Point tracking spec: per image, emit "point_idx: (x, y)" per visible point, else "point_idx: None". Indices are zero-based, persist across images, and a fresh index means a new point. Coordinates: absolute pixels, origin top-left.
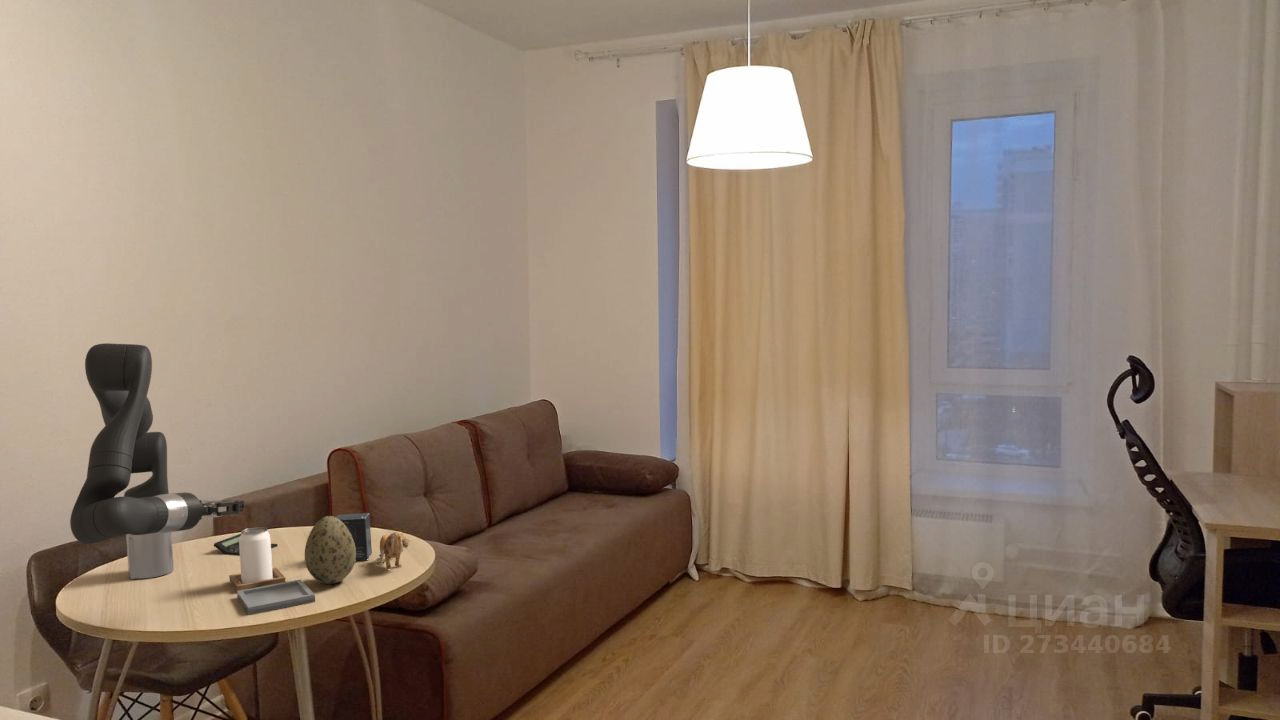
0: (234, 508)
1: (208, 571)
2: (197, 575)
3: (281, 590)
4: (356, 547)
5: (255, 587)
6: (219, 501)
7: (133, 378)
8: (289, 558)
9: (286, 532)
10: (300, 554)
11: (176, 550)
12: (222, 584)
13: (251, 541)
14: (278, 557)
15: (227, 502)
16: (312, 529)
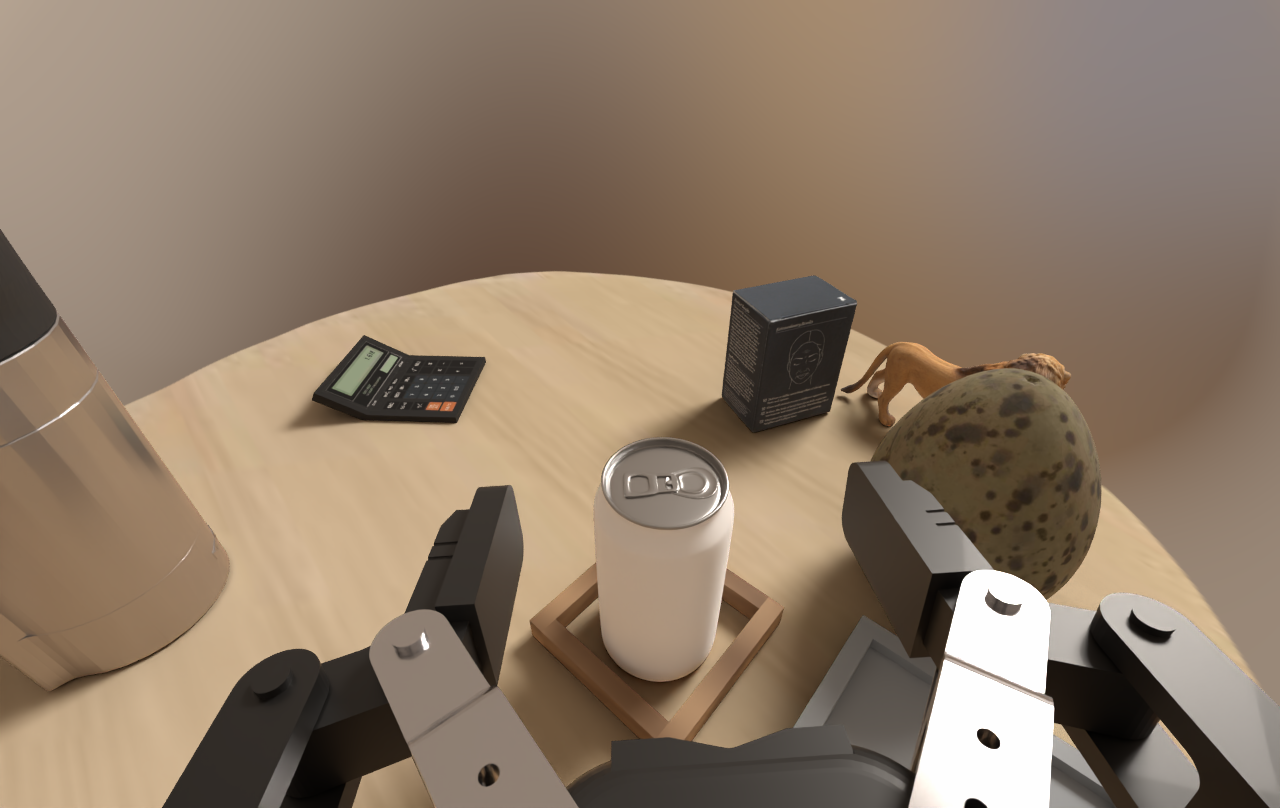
0: (1146, 716)
1: (378, 548)
2: (353, 591)
3: (883, 730)
4: (814, 386)
5: (718, 702)
6: (1051, 740)
7: None
8: (587, 423)
9: (452, 302)
10: (596, 398)
11: (181, 413)
12: (520, 668)
13: (699, 555)
14: (547, 421)
15: (1255, 772)
16: (981, 453)
